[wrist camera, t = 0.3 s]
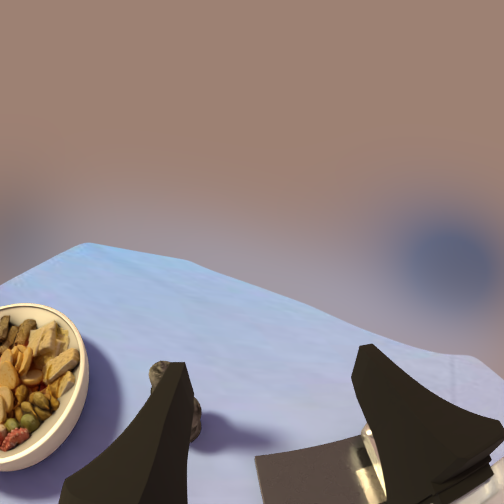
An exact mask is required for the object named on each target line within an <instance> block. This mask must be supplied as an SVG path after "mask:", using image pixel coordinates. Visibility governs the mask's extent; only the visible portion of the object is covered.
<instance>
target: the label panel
mask: <svg viewBox="0 0 504 504" xmlns="http://www.w3.org/2000/svg"><path fill="white" fill-rule="evenodd" d="M254 460H255V465H256V470H257V475H258V480H259V485H260V490H261V495H262V499H263V504H387V498H386V495H385V493H384V490H383V488H382V485H381V483H380V481H379V478H378V476H377V474H376V471H375V469H374V466H373V464H372V462H371V459H370V457H369V455H368V452H367V450H366V448H365V445H364V443H363V440H362V438H361V435H358V436H354V437H351V438H347V439H344V440H340V441H336V442H332V443H328V444H324V445H319V446H315V447H310V448H305V449H300V450H294V451H289V452H282V453H276V454H269V455H261V456H255V459H254Z"/></svg>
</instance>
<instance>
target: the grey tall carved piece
mask: <svg viewBox="0 0 504 504" xmlns="http://www.w3.org/2000/svg"><path fill="white" fill-rule="evenodd" d="M169 363H170V362H168V361H159V362H157V363H155V364H154V365H153V366H152V367H151V368H150V370H149V378H150V382H151V385H152V388H151V394H152V392H153V391H154V389H155V387H156V386H157V384H158V382H159V381H160V379H161V377H162V375H163V374H164V372H165V370H166V368H167V366H168V364H169ZM200 418H201V407H200V404H199V402H198V401H197V399H196V398H195V397H194V413H193V421H192V429H191V436H190V442H192V441H193V440H195V439H196V438H197V437H198V435H199V434H200V431H201V422H200Z"/></svg>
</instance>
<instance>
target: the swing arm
mask: <svg viewBox="0 0 504 504" xmlns="http://www.w3.org/2000/svg"><path fill="white" fill-rule="evenodd" d="M361 438H362V440H363V443H364V445H365V448H366V450H367V452H368V455H369V457H370V459H371V462H372V464H373V466H374V469H375V471H376V474H377V476H378V478H379V481H380V483H381V485H382V488H383V490H384V493H385V495H386V489H385V483H384V477H383V472H382V468H381V463H380V459H379V455H378V451H377V447H376V444H375V441H374V438H373V435H372V433H371V430H370V428H369V426H368V423H366V425H365V426H364V428H363V429H362V431H361Z"/></svg>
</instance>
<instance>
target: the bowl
mask: <svg viewBox="0 0 504 504" xmlns="http://www.w3.org/2000/svg"><path fill="white" fill-rule="evenodd" d="M88 384H89V364H88V357H87V352H86V349H85V345H84V343H83V340H82V337H81V335H80V333H79V331H78V329H77V328H76V326H75V325H74V324H73V322H72V321H71V320H70V319H69V318H68V317H66V316H65V315H64V314H62V313H61V312H59V311H57V310H55V309H53V308H51V307H48V306H44V305H40V304H31V303H21V304H12V305H7V306H3V307H0V471H16V470H20V469H24V468H27V467H30V466H32V465H35V464H37V463H38V462H40V461H42V460H43V459H45V458H47V457H48V456H49V455H50V454H52V453H53V452H54V451H55V450H56V449H57V448H58V447H59V446H60V445H61V444H62V443H63V442H64V441H65V440H66V438H67V437H68V436H69V434H70V433H71V431H72V430H73V428H74V426H75V425H76V423H77V421H78V419H79V417H80V414H81V412H82V409H83V406H84V404H85V400H86V396H87V391H88Z"/></svg>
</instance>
